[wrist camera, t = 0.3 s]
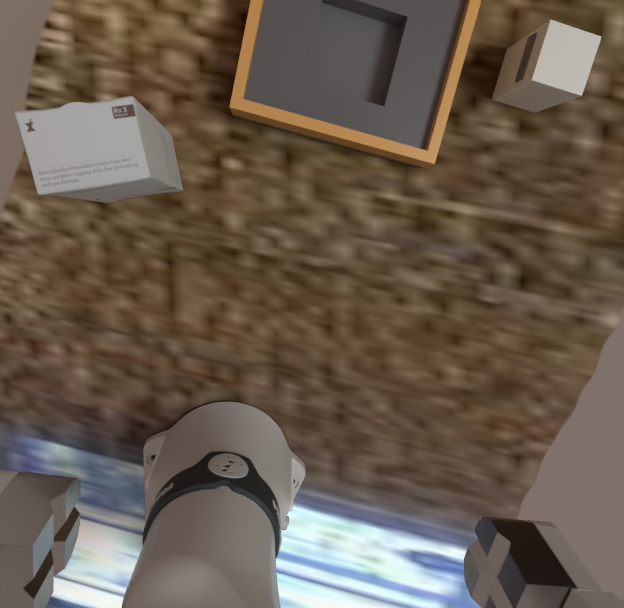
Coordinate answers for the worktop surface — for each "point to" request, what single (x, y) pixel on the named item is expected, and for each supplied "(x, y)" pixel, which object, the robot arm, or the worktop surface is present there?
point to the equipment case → (355, 71)
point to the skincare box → (99, 151)
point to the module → (546, 67)
